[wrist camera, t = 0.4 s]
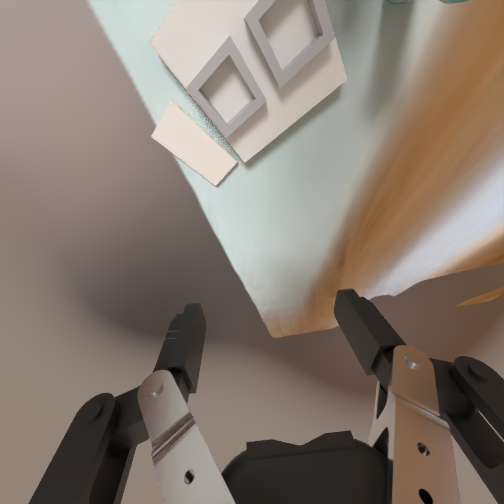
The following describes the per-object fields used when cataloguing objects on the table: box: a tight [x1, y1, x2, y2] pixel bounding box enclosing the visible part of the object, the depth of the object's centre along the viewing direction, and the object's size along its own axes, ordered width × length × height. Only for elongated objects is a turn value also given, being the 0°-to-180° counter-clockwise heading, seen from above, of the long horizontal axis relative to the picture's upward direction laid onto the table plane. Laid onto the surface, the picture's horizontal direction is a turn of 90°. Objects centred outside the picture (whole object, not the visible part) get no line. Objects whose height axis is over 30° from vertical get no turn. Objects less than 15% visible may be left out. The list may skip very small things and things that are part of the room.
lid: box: [151, 100, 237, 186], centre depth 32 cm, size 12×6×1 cm, turn 45°
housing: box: [149, 0, 347, 163], centre depth 23 cm, size 17×17×4 cm
